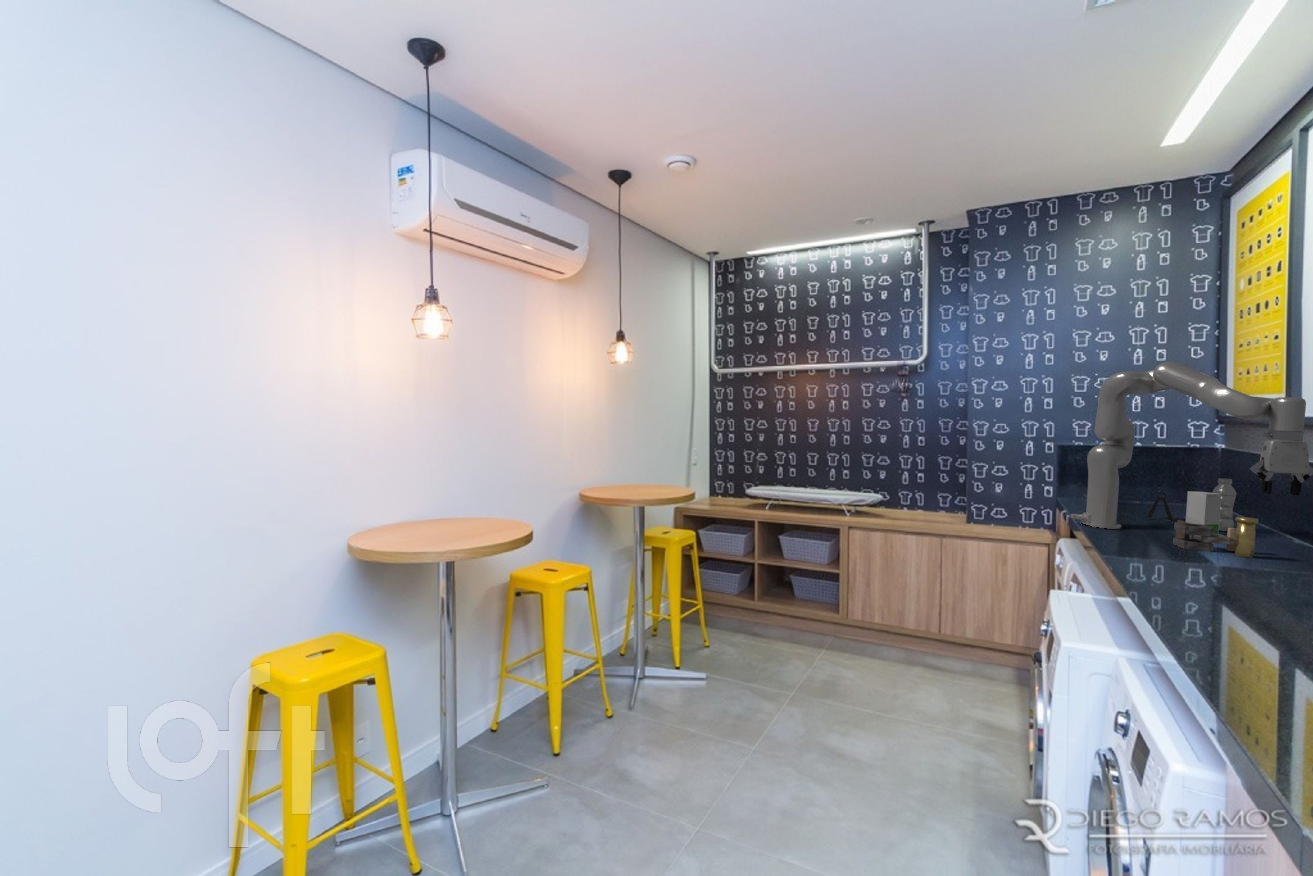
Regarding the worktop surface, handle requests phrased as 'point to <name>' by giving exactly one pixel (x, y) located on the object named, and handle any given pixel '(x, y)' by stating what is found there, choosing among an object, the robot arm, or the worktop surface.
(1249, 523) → the brass hinge pin
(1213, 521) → the skincare box
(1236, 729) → the worktop surface
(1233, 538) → the wooden crate
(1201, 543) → the slatted wooden box
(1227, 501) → the plastic bottle
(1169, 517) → the black a-shaped stand
